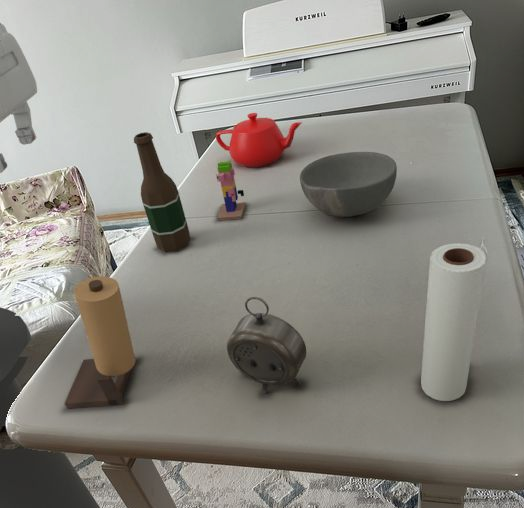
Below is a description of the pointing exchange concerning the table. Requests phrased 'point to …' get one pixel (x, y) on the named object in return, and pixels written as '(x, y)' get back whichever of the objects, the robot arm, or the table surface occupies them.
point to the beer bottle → (161, 199)
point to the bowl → (349, 182)
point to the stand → (95, 388)
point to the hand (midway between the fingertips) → (15, 156)
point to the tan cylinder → (105, 325)
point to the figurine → (229, 193)
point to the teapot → (257, 141)
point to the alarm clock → (266, 349)
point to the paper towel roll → (451, 318)
